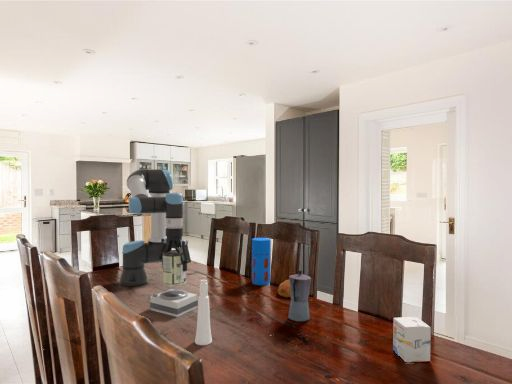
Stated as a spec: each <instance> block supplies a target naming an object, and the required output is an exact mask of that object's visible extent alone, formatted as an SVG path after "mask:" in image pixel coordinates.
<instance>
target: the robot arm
mask: <svg viewBox="0 0 512 384" xmlns="http://www.w3.org/2000/svg"><path fill="white" fill-rule="evenodd" d="M173 186H174V184H173V176H172V173H171V171H170V170H168V169H151V168H150V169H145V168H142V169H137V170H134V172H132V173H130V175H129V176H127V179H126V187H127V188H128V190H129V191H130V195H131V196H130V197H129V199H128V212H129V214H136V215H140V214H151V216H150V237H149V238H148V239H147V242H145V241H144V240H134V241H132V240H131V241H129V242H126V243H124V244H123V245H122V252H121V253H122V271H121V273H120V278H119V279H118V280H119V281H118V284H119V286H122V287H135V286H143V285H145V284H147V283H148V276H147V272H146V270H145V264H157V263H161V268H162V269H163V254H162V252H164V251H165V252H169V251H171V250H176V251H177V252H178V253H183V255H181V262H182V264H181V279H184V278H186V279H187V271H188V264H190V263H191V261H192V258H191V255H190V251H189V246H188V245H189V244H188V243H189V240H188V239H186V240H183V234H184V232H183V230H184V229H183V226H184V219H183V217H184V215H183V214H184V210H183V209H184V207H183V206H184V199H183V198H184V197H183V194H182V193H181V192H170V191H172V190H173V188H174V187H173ZM149 195H150V196H149Z"/></svg>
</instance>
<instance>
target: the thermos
mask: <svg viewBox="0 0 512 384" xmlns="http://www.w3.org/2000/svg"><path fill="white" fill-rule="evenodd" d="M271 242H272V241H271V238H267V237H254V238H252V239H251V284H253V285H255V286H256V285H257V286H266V285H270V284H271V278H272V277H271V276H272V275H271V274H272V273H271V271H272V269H271V267H272V266H271V263H272V259H271V256H272V253H271V252H272V243H271Z"/></svg>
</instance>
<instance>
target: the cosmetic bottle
mask: <svg viewBox="0 0 512 384" xmlns="http://www.w3.org/2000/svg"><path fill="white" fill-rule="evenodd" d="M208 291H209V286H208V280H207V279H206V278H205V279H200V283H199V295H198V297H197V300H198V306H197V317H196V318H197V321H196V331H195V332H196V333H195V337H194V338H195V339H194V343H195V344H196V345H197V346H209V345H211V344H212V342H213V339H212V338H213V337H212V331H211V329H212V328H211V317H210V315H211V313H210V296H209V295H208V294H209V293H208Z"/></svg>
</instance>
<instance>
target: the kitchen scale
mask: <svg viewBox="0 0 512 384" xmlns="http://www.w3.org/2000/svg"><path fill="white" fill-rule="evenodd" d="M149 300H150V303H149V308H150V311H153V312H157V313H160V314H164V315H168V316H172V317H176V318H179V317H181V316H183V315H185V314H187V313H189V312H190V311H191V312H192V311H193V310H196V309H198V294H197V293H196V294H195V293H192V292H188V291H186V290H183V289H173V288H170V289H168V290H165V291H162V292H159V293H153V294H152V295H151V296H150V299H149Z"/></svg>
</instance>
